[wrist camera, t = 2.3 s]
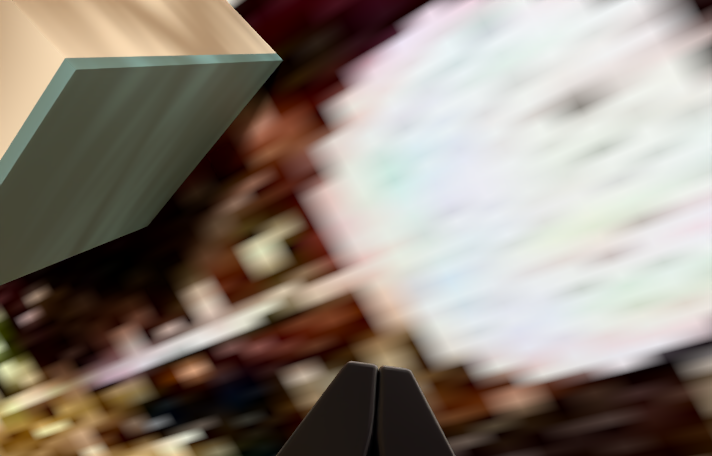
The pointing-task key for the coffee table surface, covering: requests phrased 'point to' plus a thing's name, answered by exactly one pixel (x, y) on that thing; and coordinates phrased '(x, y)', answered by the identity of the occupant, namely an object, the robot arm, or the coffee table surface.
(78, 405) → the coffee table surface
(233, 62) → the tile
